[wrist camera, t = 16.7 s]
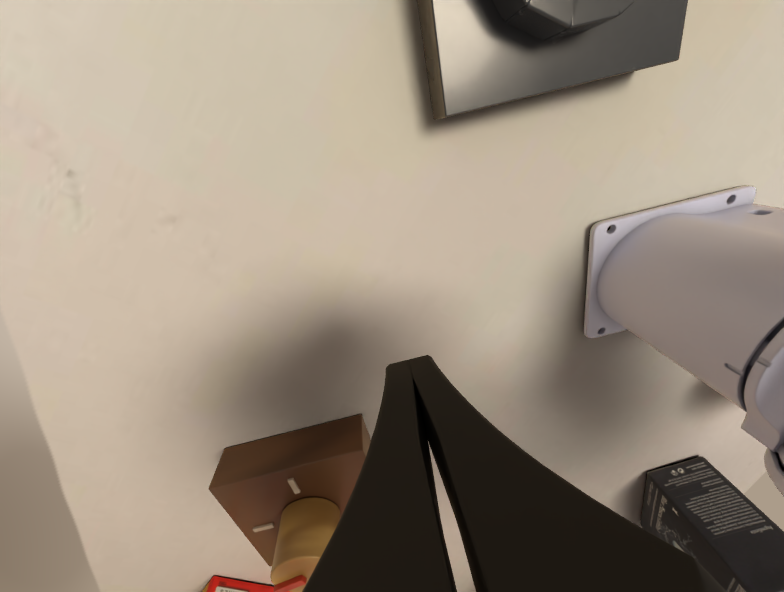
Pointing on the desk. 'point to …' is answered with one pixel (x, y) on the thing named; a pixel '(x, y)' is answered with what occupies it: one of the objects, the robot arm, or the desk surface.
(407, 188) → the desk surface
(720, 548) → the box
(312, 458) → the dimmer panel
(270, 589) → the board game
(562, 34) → the switch block
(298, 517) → the dimmer knob
